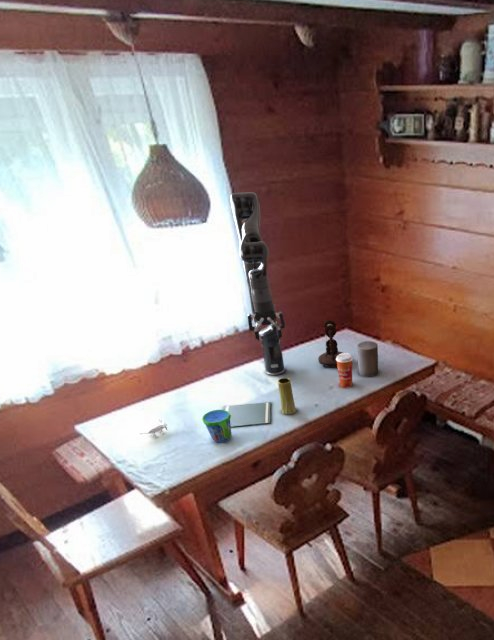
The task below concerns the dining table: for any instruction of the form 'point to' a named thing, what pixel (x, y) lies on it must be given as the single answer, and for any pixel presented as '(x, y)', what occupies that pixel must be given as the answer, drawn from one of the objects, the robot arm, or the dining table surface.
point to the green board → (249, 414)
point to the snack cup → (218, 425)
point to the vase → (286, 396)
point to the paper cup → (345, 369)
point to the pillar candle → (368, 358)
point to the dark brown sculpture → (330, 346)
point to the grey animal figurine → (157, 428)
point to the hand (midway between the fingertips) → (269, 339)
